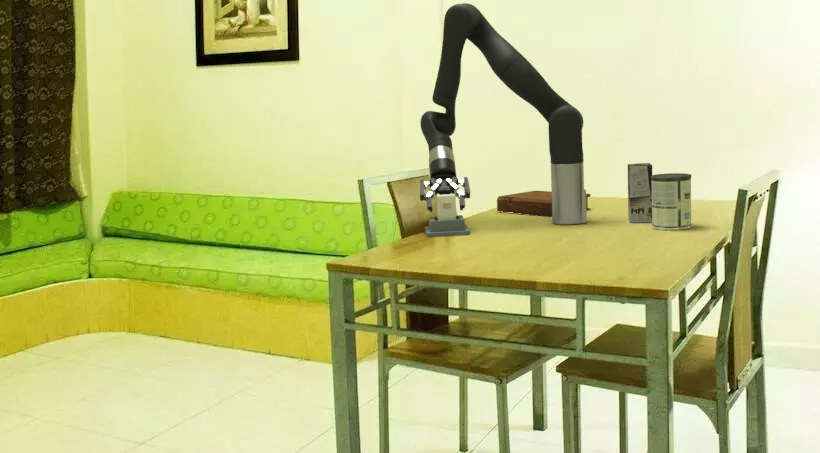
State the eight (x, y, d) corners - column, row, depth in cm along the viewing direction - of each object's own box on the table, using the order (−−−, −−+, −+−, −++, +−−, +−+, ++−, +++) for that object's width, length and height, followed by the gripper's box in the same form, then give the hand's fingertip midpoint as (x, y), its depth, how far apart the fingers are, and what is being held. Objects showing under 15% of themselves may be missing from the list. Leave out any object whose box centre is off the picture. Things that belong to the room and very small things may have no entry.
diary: (497, 214, 276) (496, 196, 276) (535, 207, 288) (535, 190, 288) (552, 218, 259) (552, 199, 258) (590, 211, 271) (590, 193, 270)
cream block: (455, 227, 242) (454, 193, 241) (457, 230, 237) (455, 196, 235) (437, 227, 242) (436, 194, 241) (439, 231, 236) (437, 197, 235)
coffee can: (654, 224, 236) (654, 173, 234) (693, 224, 231) (693, 173, 229) (648, 230, 227) (647, 177, 225) (688, 230, 222) (688, 176, 220)
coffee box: (653, 222, 239) (652, 165, 236) (629, 223, 240) (628, 165, 238) (650, 218, 248) (650, 162, 245) (627, 218, 249) (627, 163, 246)
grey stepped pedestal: (466, 227, 247) (465, 214, 246) (470, 234, 234) (470, 220, 233) (424, 230, 246) (424, 216, 246) (426, 237, 234) (426, 222, 233)
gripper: (417, 158, 244) (420, 202, 235) (467, 155, 244) (472, 199, 235) (417, 174, 250) (421, 219, 241) (466, 172, 250) (471, 216, 241)
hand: (446, 209), depth 238 cm, fingers open, 8 cm apart
